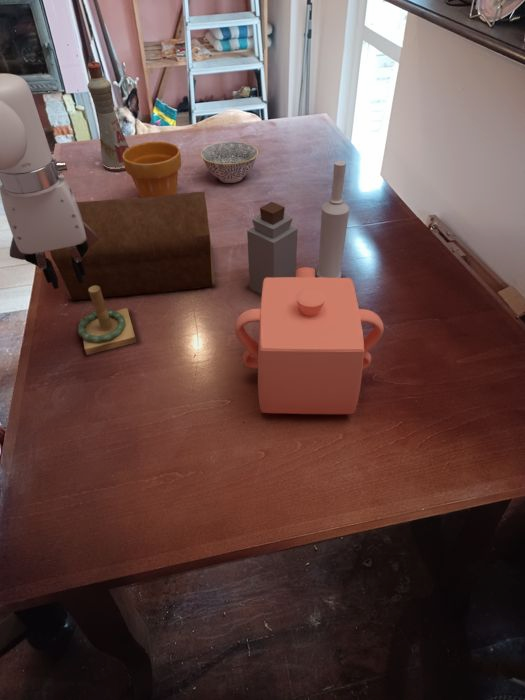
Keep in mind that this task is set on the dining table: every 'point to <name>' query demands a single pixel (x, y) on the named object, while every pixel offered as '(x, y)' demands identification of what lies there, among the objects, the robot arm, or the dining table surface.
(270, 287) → the teapot
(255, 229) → the perfume bottle
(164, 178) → the flower pot
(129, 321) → the stand
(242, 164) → the bowl
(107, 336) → the ring
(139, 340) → the dining table surface
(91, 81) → the bottle
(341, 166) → the bottle
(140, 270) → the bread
